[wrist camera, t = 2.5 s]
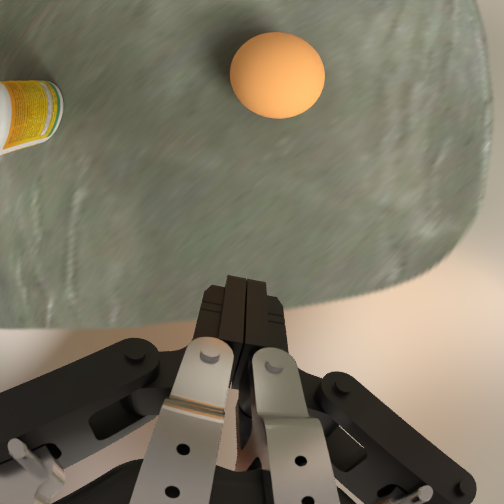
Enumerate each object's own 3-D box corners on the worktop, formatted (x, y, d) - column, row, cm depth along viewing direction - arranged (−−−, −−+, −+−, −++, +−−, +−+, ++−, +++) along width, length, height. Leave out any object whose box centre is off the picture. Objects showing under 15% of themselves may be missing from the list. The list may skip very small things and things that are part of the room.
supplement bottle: (31, 153, 18) (-50, 187, 10) (16, 102, 16) (-66, 118, 7) (73, 122, 18) (-16, 143, 9) (57, 67, 15) (-31, 65, 7)
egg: (224, 108, 18) (215, 106, 13) (242, 36, 15) (240, 11, 11) (303, 126, 18) (322, 131, 13) (321, 55, 16) (345, 38, 11)
